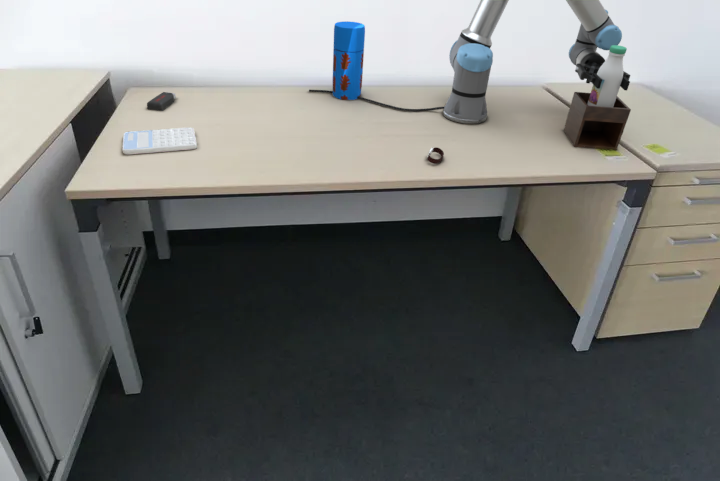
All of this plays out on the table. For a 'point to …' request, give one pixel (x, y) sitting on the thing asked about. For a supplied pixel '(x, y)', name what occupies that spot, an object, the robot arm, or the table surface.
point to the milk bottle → (609, 79)
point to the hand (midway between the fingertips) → (613, 85)
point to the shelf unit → (595, 123)
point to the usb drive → (161, 101)
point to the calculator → (159, 140)
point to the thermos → (348, 59)
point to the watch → (436, 152)
